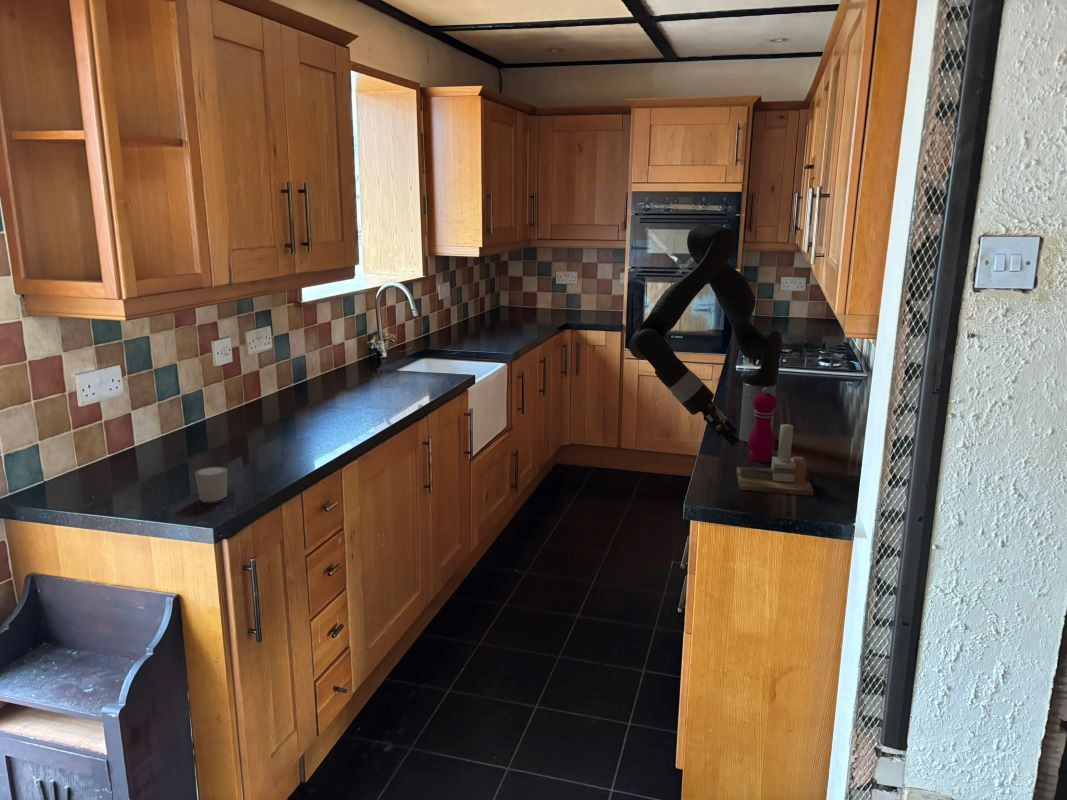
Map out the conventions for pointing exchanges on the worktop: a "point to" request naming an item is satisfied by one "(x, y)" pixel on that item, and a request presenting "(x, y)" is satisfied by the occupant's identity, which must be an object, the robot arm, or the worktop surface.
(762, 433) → the pepper mill
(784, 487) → the track
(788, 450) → the white handled block
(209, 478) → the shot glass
